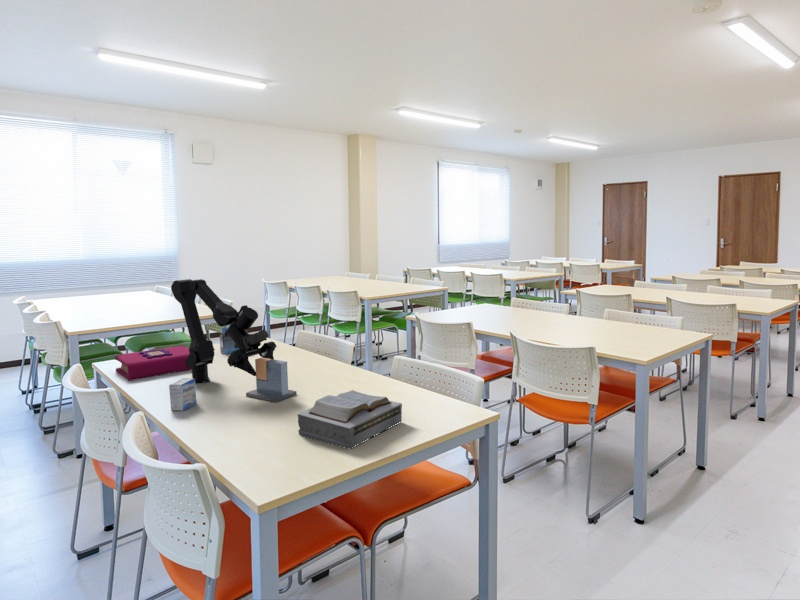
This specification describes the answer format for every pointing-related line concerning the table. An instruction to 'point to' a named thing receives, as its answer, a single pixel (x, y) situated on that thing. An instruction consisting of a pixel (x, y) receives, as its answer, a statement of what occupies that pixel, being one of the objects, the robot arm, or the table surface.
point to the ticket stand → (273, 383)
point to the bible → (348, 418)
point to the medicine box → (182, 394)
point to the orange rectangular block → (261, 368)
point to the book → (153, 362)
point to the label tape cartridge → (226, 343)
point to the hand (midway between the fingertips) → (265, 372)
